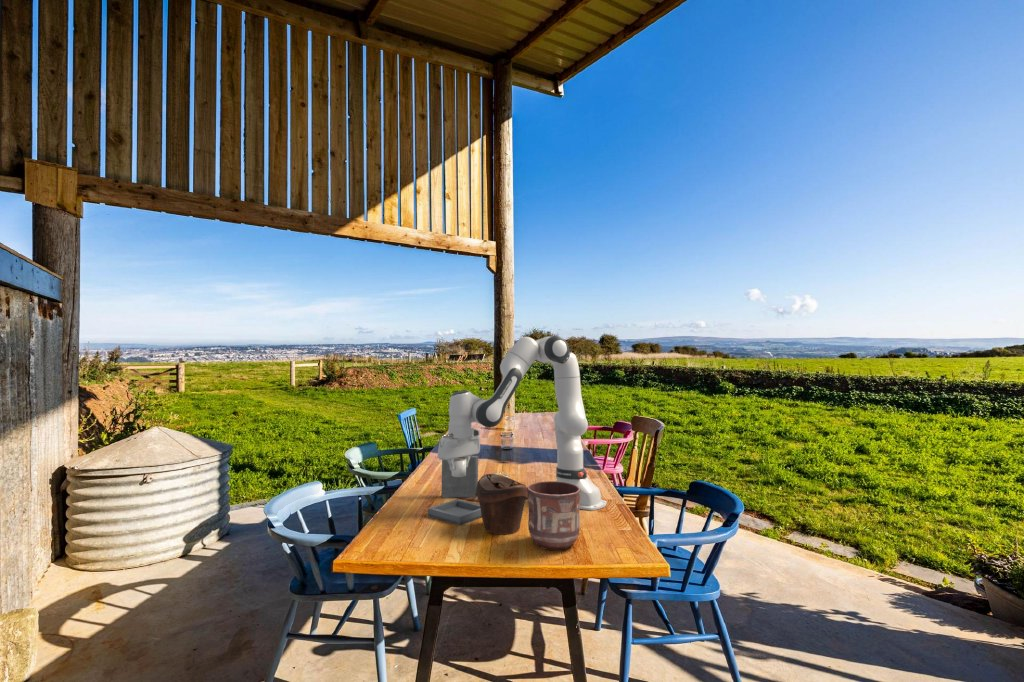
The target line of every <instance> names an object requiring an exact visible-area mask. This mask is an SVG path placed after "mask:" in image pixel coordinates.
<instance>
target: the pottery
mask: <svg viewBox="0 0 1024 682" xmlns="http://www.w3.org/2000/svg"><path fill="white" fill-rule="evenodd" d="M526 487H527V493H528V499H527V500H528V519H527V520H528V522H527V523H528V525H527V526H528V532H529V535H530V537H531V540H532V541H533V542H534V543H535V544H536V545H537V546H538V547H539V548H542V549H545V550H547V551H548V550H549V551H561V550H566V549H569V548H571V547H572V545H574V543H576V542H577V539H578V538H579V534H580V529H581V528H580V525H581V524H580V518H581V517H580V511H581V509H580V494H581V489H580V488H579V487H578V486H576V485H574V484H570V483H566V482H558V481H557V480H556V481H555V480H554V481H553V480H550V481H549V480H547V481H538V482H537V481H536V482H533V483H531V484H529V485H528V486H526Z"/></svg>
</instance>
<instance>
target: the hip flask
mask: <svg viewBox="0 0 1024 682" xmlns="http://www.w3.org/2000/svg"><path fill="white" fill-rule="evenodd" d="M459 458H463V459H465V458H464V457H459ZM454 459H456V458H454ZM451 474H452V470H450V465H449V463H448V461H447V460H441V495H440V496H441V498H442V499H448V498H449V499H453V498H475V499H476V498H478V497H477V496H475V490H476V487H477V483H478V481H479V455H471V457H470V460H469V462H468V467H466V476H464V477H453V476H451Z"/></svg>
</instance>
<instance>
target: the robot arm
mask: <svg viewBox="0 0 1024 682" xmlns="http://www.w3.org/2000/svg"><path fill="white" fill-rule="evenodd" d="M534 362H537V363H541V364H543V363H544V364H549V363H550V364H551V365H552V368H553V376H554V377H553V378H554V390H555V391H554V392H555V393H554V394H555V395H554V396H555V398H556V402H557V406H558V411H556V412H555V414H554V417H553V424H554V431H555V442H556V451H557V453H556V455H557V458H556V459H557V460H556V461H557V462H556V463H557V464H556V465H557V466H556V468H555V474H556V475H555V476H556V477H555V478H556V481H558V482H566V483H570V484H574V485H576V486H578V487H579V488H580V489H581V494H580V510H585V511H598V510H601V509H603V508H605V507H606V506H607V501H606V500H604V499H602V494H601V489H600V488H599V487H598V486H597V485H596V484H595V483H593V482H592V481H591V479H589V478H588V476H587V474H589V470H586V469H585V468H584V448H583V445H582V441H581V440H582V437H581V436H583V435H584V434H585V433H586V432H587V430H588V428H589V422H588V420H587V416H586V411H585V407H584V406H585V405H584V403H583V397H582V387H581V373H580V372H581V371H580V368H579V362H578V358H577V355H575V354H574V353H573V352H571V350H570V346H569V343H568V342H567V340H565V338H563V337H561V336H558V335H553V336H545V337H541V338H537V339H534V338H532V337H530V336H523V337H521V338H520V339H519V340H517V341H516V342H515V343H514V344H513V345H512V346H511V348H509V350H508V351H507V353H506V354H505V356H504V357H503V358H502V360H501V363H499V364H500V365H499V369H500V374H501V375H502V379H501V381H500V384H499V385H498V387H497V388H496V390H495V392H494V393H493V395H492V396H491V397H490V398H489V399H485V398H481V397H480V396H477V395H475V394H473V393H472V392H471V391H470V390H459V391H455V392H453V393H452V394H451V395H450V398H449V404H448V405H449V406H448V415H449V416H448V417H449V423H448V434H443V435H442V436H441V437H440V438H439V443H438V449H437V458H438V460H441V461H442V460H447V461H448V463H449V465H450V470H455V469H456V468H455V467H456V465H454V464H453V461H454V458H459V457H464V458H465V459H466V467H468V462H469V460H470V457H471V455H472V456H475V455H478V454H479V453H480V450H481V438H480V435H481V431H480V430H479V429H475V428H473V427H472V423H477V424H480V425H482V427H485V428H495V427H497V426H498V425H499V424H500V423H501V421H502V419H503V417H504V413H505V410H506V407H507V406H508V403H509V402H510V399H512V396H513V395H514V393H515V392H516V390H517V388H518V386H519V385H520V383H521V381H522V379H523V377H524V376H525V375H526V373H527V372H528V370H529V368H530V367H531V366H532V365H533V363H534Z"/></svg>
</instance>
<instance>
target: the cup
mask: <svg viewBox="0 0 1024 682" xmlns="http://www.w3.org/2000/svg"><path fill="white" fill-rule="evenodd" d="M453 464H454V465H456V467H455V468H456V469H455V470H452V474H451V476H453V477H464V476H466V459H463V458H456V459H454V461H453Z"/></svg>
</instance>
